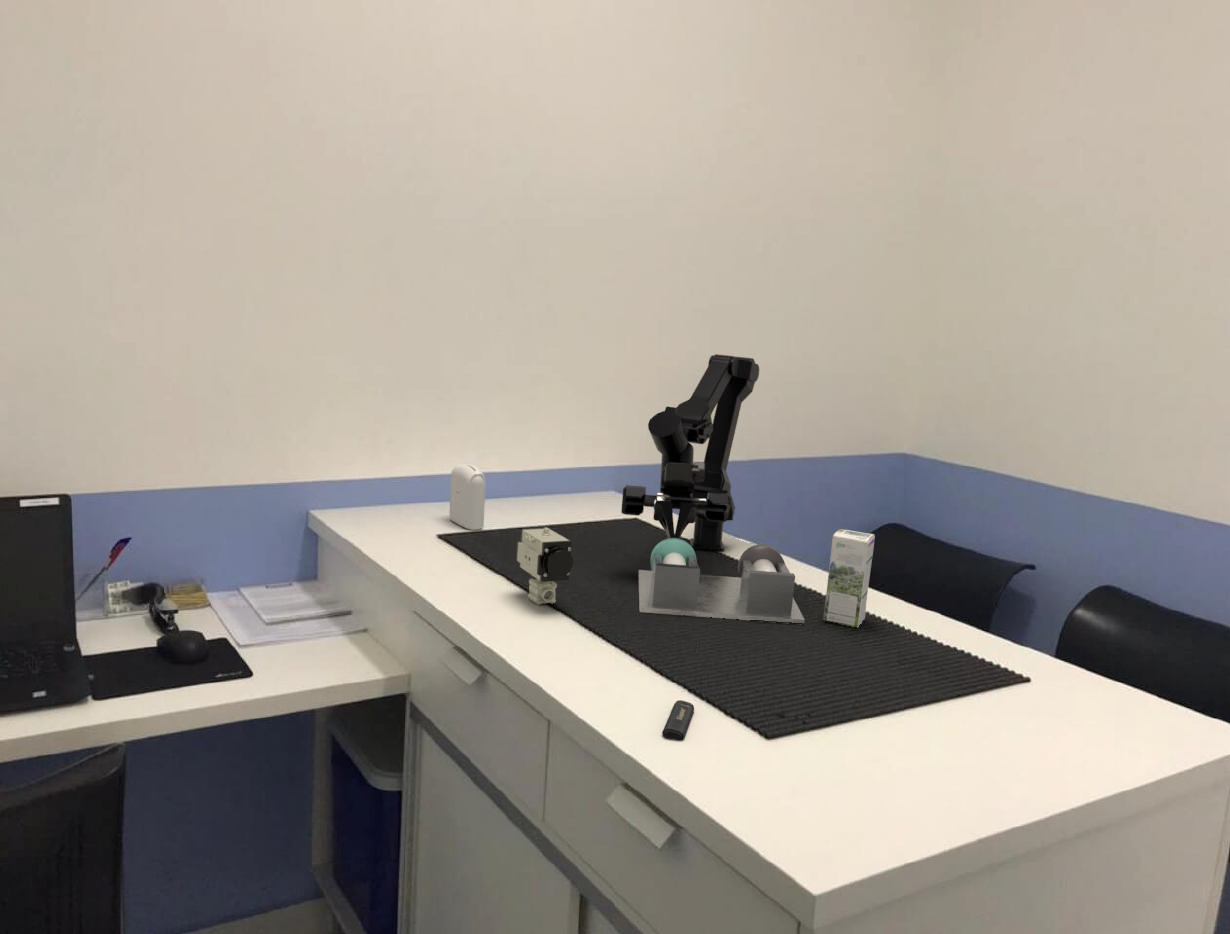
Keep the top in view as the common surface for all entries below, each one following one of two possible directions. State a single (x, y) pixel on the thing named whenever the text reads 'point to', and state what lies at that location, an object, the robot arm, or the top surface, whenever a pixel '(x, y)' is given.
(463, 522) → the photo printer
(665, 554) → the teal knob
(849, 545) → the syrup box
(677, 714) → the usb stick
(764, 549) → the dark grey rounded piece
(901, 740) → the top surface
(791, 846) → the top surface
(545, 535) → the pneumatic valve
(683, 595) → the mount
